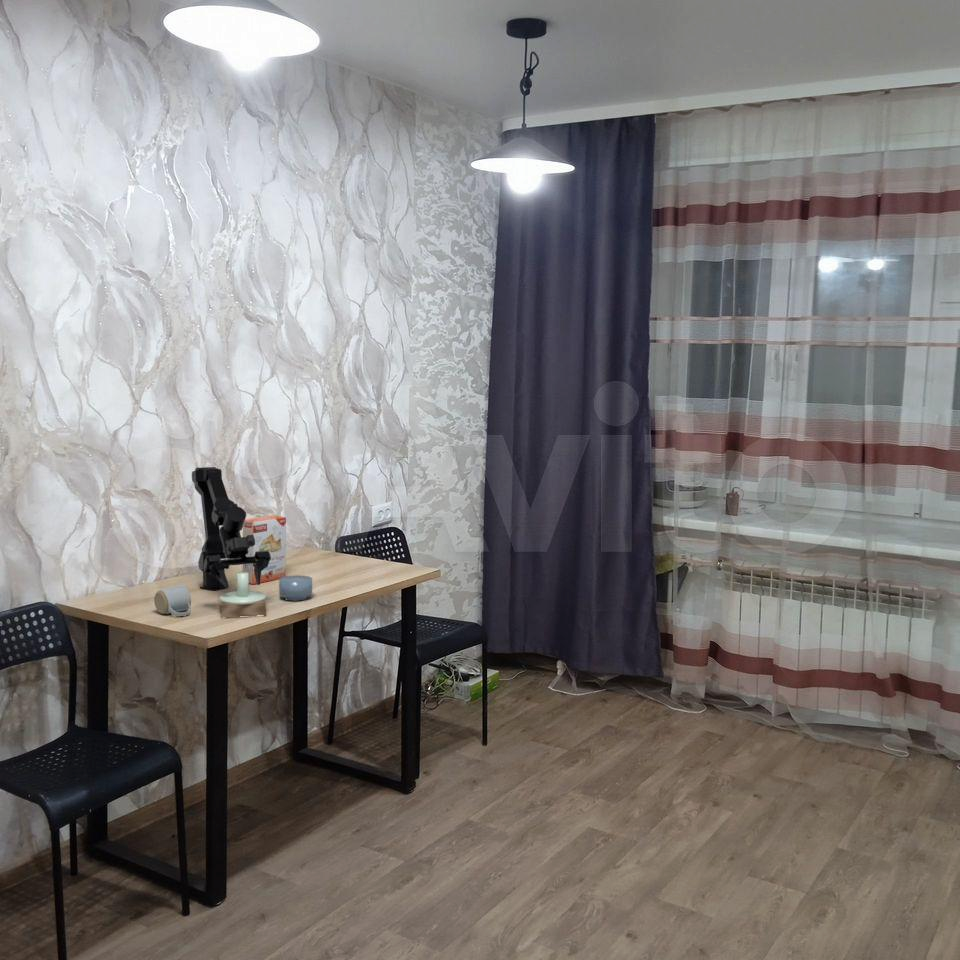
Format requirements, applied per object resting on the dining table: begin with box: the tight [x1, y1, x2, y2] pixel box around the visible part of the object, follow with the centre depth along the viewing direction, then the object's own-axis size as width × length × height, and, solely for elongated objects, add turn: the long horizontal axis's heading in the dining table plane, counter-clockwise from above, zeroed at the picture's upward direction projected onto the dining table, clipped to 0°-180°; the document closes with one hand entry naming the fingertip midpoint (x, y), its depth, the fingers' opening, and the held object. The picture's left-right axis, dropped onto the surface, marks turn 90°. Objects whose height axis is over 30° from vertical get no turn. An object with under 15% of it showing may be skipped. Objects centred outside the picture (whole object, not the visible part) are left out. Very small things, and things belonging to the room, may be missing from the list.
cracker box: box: [242, 515, 287, 585], centre depth 322 cm, size 14×6×21 cm, turn 143°
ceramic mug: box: [153, 583, 192, 617], centre depth 280 cm, size 11×8×8 cm
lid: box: [219, 571, 267, 604], centre depth 283 cm, size 13×13×8 cm
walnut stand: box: [220, 599, 267, 618], centre depth 283 cm, size 12×12×4 cm
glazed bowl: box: [278, 574, 313, 601], centre depth 301 cm, size 10×10×6 cm
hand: (243, 586), depth 282 cm, fingers open, 9 cm apart
